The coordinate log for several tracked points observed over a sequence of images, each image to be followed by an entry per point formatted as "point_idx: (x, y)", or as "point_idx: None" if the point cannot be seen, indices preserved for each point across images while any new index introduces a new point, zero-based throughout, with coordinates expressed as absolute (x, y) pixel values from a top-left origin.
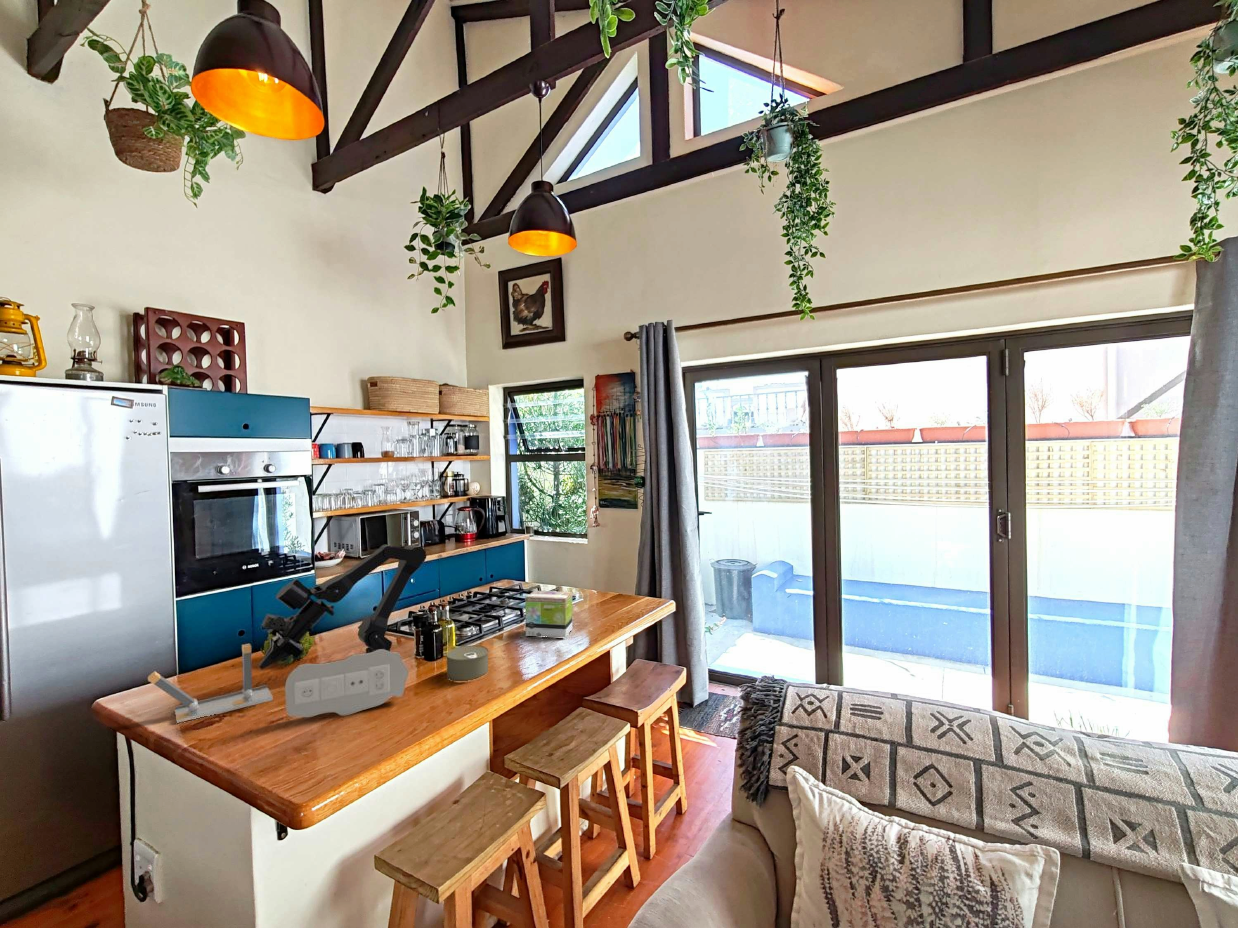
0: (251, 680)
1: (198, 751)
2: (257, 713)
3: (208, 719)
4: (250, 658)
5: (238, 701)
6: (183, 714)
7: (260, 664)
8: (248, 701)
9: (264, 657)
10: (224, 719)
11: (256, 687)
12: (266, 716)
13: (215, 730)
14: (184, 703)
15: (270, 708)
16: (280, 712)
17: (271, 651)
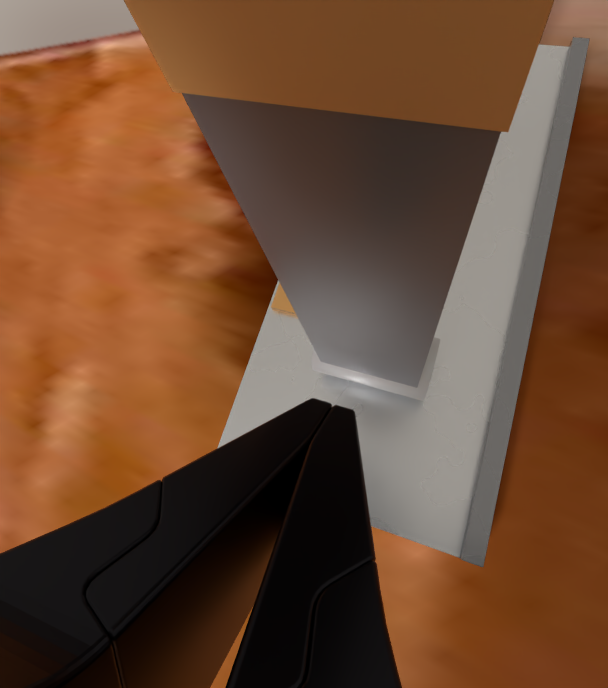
0: (308, 334)
1: (18, 63)
2: (118, 319)
3: None
4: (241, 184)
5: None
6: None
7: (312, 414)
8: (275, 331)
9: (312, 488)
10: (209, 195)
11: (492, 480)
12: (38, 329)
13: (128, 139)
14: None
15: (110, 391)
16: (9, 395)
17: (13, 554)
